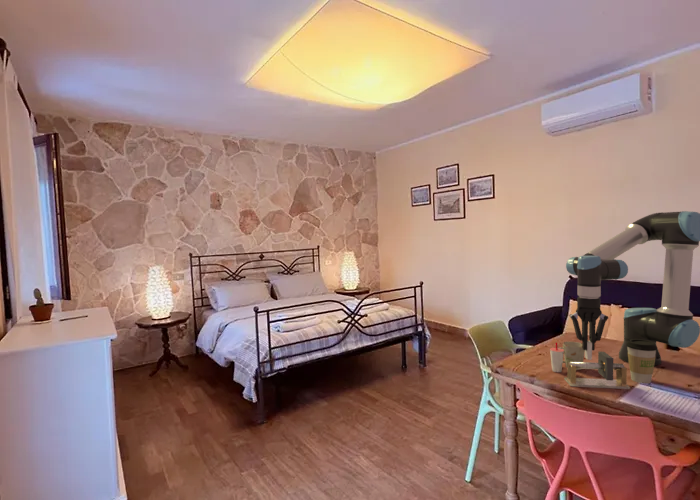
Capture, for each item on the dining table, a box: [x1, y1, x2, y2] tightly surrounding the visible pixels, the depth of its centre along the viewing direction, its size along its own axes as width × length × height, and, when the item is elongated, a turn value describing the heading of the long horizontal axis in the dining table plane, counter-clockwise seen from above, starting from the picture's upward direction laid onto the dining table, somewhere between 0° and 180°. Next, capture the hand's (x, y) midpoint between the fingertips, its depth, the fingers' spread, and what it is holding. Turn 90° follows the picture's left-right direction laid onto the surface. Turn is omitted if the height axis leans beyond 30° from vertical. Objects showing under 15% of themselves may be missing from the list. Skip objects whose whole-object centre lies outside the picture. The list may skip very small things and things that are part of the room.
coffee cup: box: [626, 339, 659, 384], centre depth 155 cm, size 10×10×15 cm
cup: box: [549, 342, 564, 373], centre depth 167 cm, size 5×5×12 cm
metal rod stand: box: [563, 361, 631, 390], centre depth 152 cm, size 20×7×8 cm, turn 79°
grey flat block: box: [597, 351, 614, 381], centre depth 152 cm, size 2×8×8 cm, turn 169°
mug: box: [558, 341, 585, 371], centre depth 171 cm, size 8×13×10 cm, turn 78°
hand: (588, 358), depth 153 cm, fingers closed
